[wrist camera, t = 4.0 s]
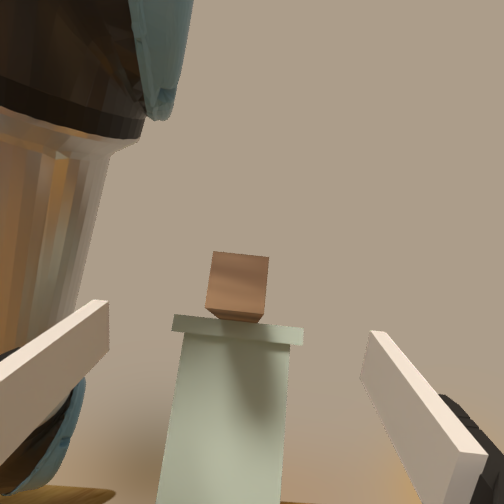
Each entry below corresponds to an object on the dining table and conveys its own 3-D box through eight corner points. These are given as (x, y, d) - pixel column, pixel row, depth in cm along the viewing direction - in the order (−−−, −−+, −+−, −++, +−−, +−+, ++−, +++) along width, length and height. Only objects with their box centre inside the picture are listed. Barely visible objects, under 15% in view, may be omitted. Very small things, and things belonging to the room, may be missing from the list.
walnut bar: (263, 314, 17) (268, 257, 18) (204, 307, 17) (213, 251, 18) (252, 329, 42) (255, 305, 43) (229, 326, 42) (232, 302, 43)
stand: (297, 863, 16) (317, 329, 25) (58, 832, 17) (160, 312, 25) (274, 628, 30) (292, 332, 39) (141, 612, 30) (189, 321, 39)
